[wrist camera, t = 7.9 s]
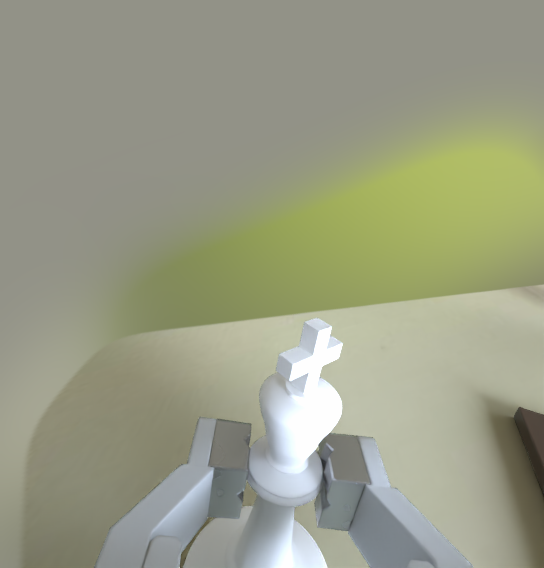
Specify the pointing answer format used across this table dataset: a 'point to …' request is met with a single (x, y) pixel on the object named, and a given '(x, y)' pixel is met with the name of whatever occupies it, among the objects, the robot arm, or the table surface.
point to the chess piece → (281, 465)
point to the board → (533, 439)
